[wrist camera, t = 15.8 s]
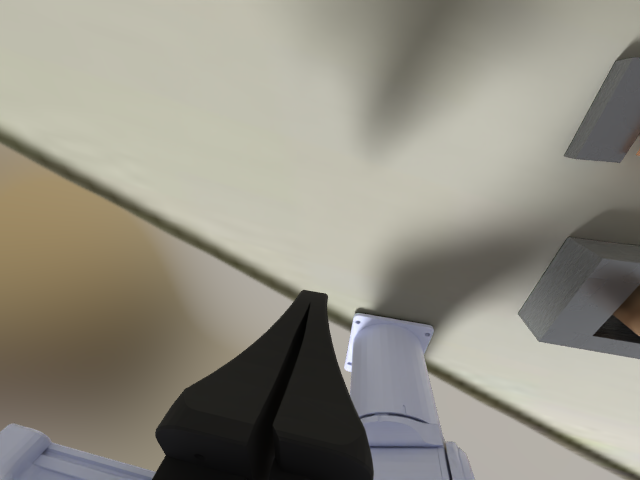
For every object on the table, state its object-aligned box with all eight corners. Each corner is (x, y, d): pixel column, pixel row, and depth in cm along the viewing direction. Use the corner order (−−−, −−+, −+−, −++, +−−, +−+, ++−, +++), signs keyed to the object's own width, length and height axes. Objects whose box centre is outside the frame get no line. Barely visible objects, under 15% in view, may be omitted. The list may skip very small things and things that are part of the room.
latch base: (605, 159, 15) (620, 162, 14) (563, 156, 15) (576, 158, 14) (666, 63, 13) (688, 59, 12) (615, 61, 13) (633, 57, 12)
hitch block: (656, 336, 20) (699, 369, 18) (517, 313, 21) (538, 341, 19) (744, 258, 16) (815, 286, 14) (568, 236, 18) (603, 258, 15)
